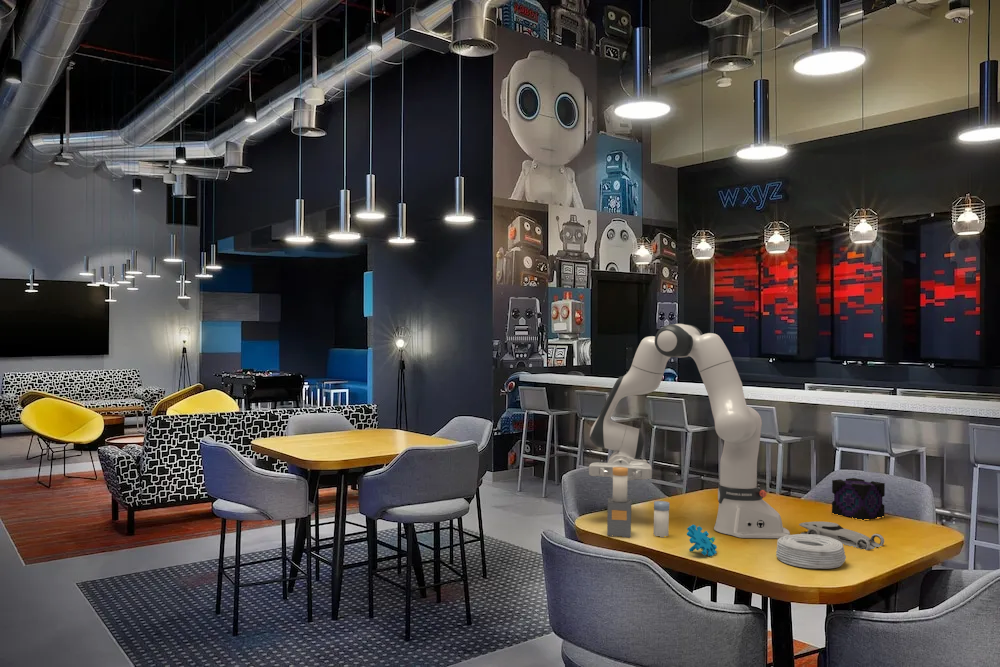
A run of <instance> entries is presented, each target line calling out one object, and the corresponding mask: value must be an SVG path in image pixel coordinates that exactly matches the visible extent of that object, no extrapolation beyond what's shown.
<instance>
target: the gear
mask: <svg viewBox="0 0 1000 667" xmlns="http://www.w3.org/2000/svg"><path fill="white" fill-rule="evenodd" d="M686 529H687V532H686V536H687V537H689V542H690V544H693V545H692V546H691V547H689V549H688V551H689V552H690V551H692V552H693V551H695V550H696V551H699V550H702V549H703V550H702V551H701V552H700V553H701V554H702V555H703V556H706V555H707V556H708V557H709V556H712V557H713V556H714V555H716V554H717V548H718V547H717V546H718V545H716V544H714V543H715V540H716V537H715V536H712V537H709V536H710V533H709V532H708V531H707V530H705V531H704V532H702V530H703V527H701V526H700V525H698V526H696V525H695V524H691V525H689V526H688V527H687V528H686Z"/></svg>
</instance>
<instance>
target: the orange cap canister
mask: <svg viewBox="0 0 1000 667" xmlns="http://www.w3.org/2000/svg"><path fill="white" fill-rule="evenodd" d="M627 477H628V468H626V467H613V479H612V498H613V501H615V502H627V499H628V481H627Z"/></svg>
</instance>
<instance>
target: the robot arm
mask: <svg viewBox="0 0 1000 667" xmlns="http://www.w3.org/2000/svg"><path fill="white" fill-rule="evenodd" d="M688 357H691V358H692V359H693V361H694V362H695V364H696V367H697V370H698V372H699V374H700V377H701V380H702V383H703V384H704V388H705V391H706V392H707V396H708V399H709V403H710V408H711V409H710V410H711V413H712V418H713V421H714V430H715V432H716V434H717V436H718V437H719V439H721V440H723V447H722V453H721V456H720V460H719V461H720V462H719V464H720V465H719V484H718V488H717V500H718V509H717V514H716V520H715V524H714V527H713V530H714V531H716V532H718V533H721V534H723V535H724V534H725V535H729V536H733V537H736V538H739V539H779V538H781V537H784V536H787V535H791V533H790V530H789V529H787V528H785V527H783V521H782V518H781V514H780V513H779V512H778V511H777V510H776V509H775V508H774V507H772V506H771V505H770V504H769V503H768V502H766V501H765V500H764V498H767V495H768V494H767V492H766V490H764V489H762V488H760V487H758V486H757V484H758V482H757V480H758V477H757V476H758V457H759V450H760V442H761V434H762V433H761V432H762V426H763V424H762V423H763V421H762V417H761V415H760V413H759V412H758V411H757V410H756V409H754V408H752V407H751V406H748V405H747V401H746V399H745V398H746V397H745V394H744V388H743V382H742V380H741V377H740V375H739V372H738V370H737V368H736V365H735V362H734V360H733V358H732V355H731V353H730V351H729V349H728V347H727V346H726V344H725V343H724V340H723V339H722V338H721V337H720V335H718V334H716V333H712V332H707V333H704V334H703V332H702V331H701V330H700V329H699V328H698V327H697V326H695V325H691V324H684V323H675V324H674V323H673V324H666V325H664V326H662V327H661V328H660V329H658V330H657V332H656V333H655V336H653V335H651V336H645V337H644V338H643V339H642V340H641V341H640V343H639V345H638V347H637V348H636V351H635V354H634V357H633V358H632V363H631V366H630V368H629V370H628V371H627V372H626V374H624V375H623V376H622V375H621V376H619V377H618V378H617V380H616V381H615V382H614V383H613V387H612V388H611V390H610V392H609V394H608V397H607V398H606V400H605V402H604V403H603V407H602V409H601V410H600V412H599V415H598V417H597V418H596V420H595V421H594V423H593V424H592V425H591V428H590V431H589V440H590V441H591V443H592V444H593V446H594V447H596V448H601V449H606V450H611V451H614V452H613V453H611V455H610V456H609V457H608V460H607V462H597V461H596V462H591V463H590V464H589V466H588V475H589V476H591V477H603V478H604V477H608V478H611V479H612V480H613V467H626V468H628V477H627V482H628V481H634V480H635V481H639V480H640V481H641V480H651V479H652V477H653V466H652V465H651V464H650V463H648V460H646V459H645V458H641V456H642V453H643V451H644V450H643V449H644V445H645V444H644V443H645V436H644V434H643V432H642V430H641V429H640V428H637V427H634V426H631V425H629V424H628V425H627V424H622V423H620V422H617V421H613V420H612V419H611V418H612V416H613V414H614V412H615V409H616V408H617V405H618V404H619V402H620V401H621V399H623V398H625V397H629V396H642V395H648V394H650V393H652V392H655V391H656V390H657V389H658V388H659V386H660V384H661V382H662V380H663V378H664V373H665V370H666V367H667V363H668V361H670V359H671V358H679V359H680V358H688Z"/></svg>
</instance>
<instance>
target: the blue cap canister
mask: <svg viewBox="0 0 1000 667" xmlns="http://www.w3.org/2000/svg"><path fill="white" fill-rule="evenodd" d="M669 518H670V502H669V501H665V500H655V501H654V502H653V533H652V534H654V535H655V536H654V535H653V536H654V537H656V536H660V537H659V538H665V537H664V536H668V537H669V526H670V525H669V524H670V523H669V522H670V519H669Z"/></svg>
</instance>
